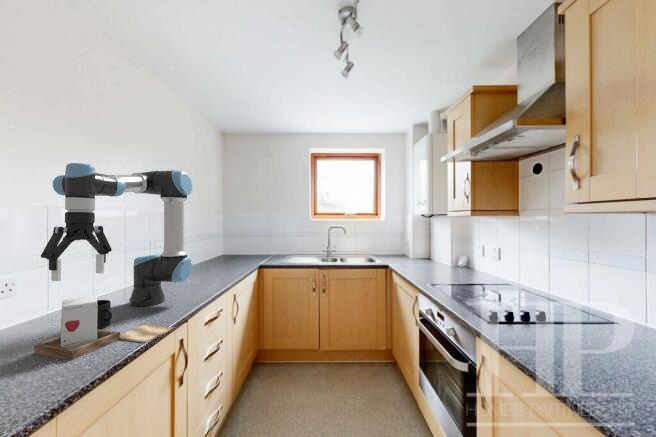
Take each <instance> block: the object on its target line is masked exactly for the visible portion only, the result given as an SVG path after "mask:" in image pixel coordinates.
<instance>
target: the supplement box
mask: <svg viewBox="0 0 656 437" xmlns="http://www.w3.org/2000/svg"><path fill="white" fill-rule="evenodd" d="M97 300H98V297H97V296H96V295H95V296H87V297H85V296H84V297H79V298H71V299H70V298H69V299H62V302H61V311H60V312H61V313H60V314H61V317H60V336H61V345H60V347H62V348H69V349H75V348H78V347H80V346H83V345H85V344H88V343H90V342H93V341H95V340H98V338H97Z"/></svg>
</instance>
